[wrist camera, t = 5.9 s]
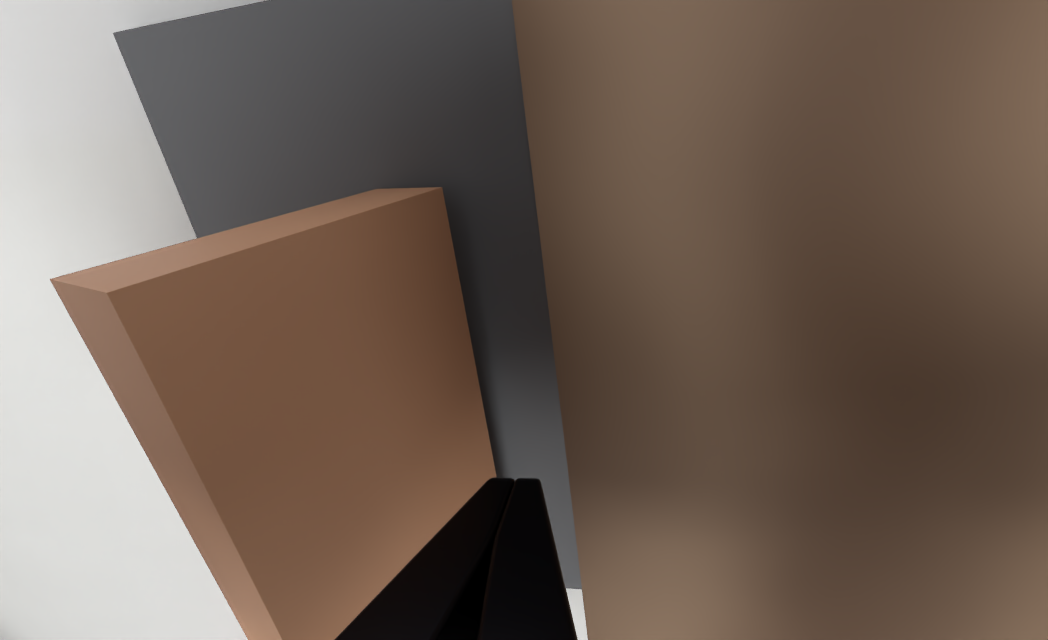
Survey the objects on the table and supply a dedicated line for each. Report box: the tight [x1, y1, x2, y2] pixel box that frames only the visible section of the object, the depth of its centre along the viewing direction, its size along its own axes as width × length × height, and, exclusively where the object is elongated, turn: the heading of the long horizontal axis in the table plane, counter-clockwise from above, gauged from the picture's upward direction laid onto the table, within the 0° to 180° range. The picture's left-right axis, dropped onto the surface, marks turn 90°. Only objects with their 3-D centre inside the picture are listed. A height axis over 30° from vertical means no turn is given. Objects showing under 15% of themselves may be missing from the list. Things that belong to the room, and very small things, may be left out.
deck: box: [512, 0, 1048, 640], centre depth 10 cm, size 10×17×4 cm, turn 8°
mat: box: [113, 0, 582, 589], centre depth 13 cm, size 10×17×1 cm, turn 8°
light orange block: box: [50, 187, 497, 640], centre depth 10 cm, size 6×9×2 cm
